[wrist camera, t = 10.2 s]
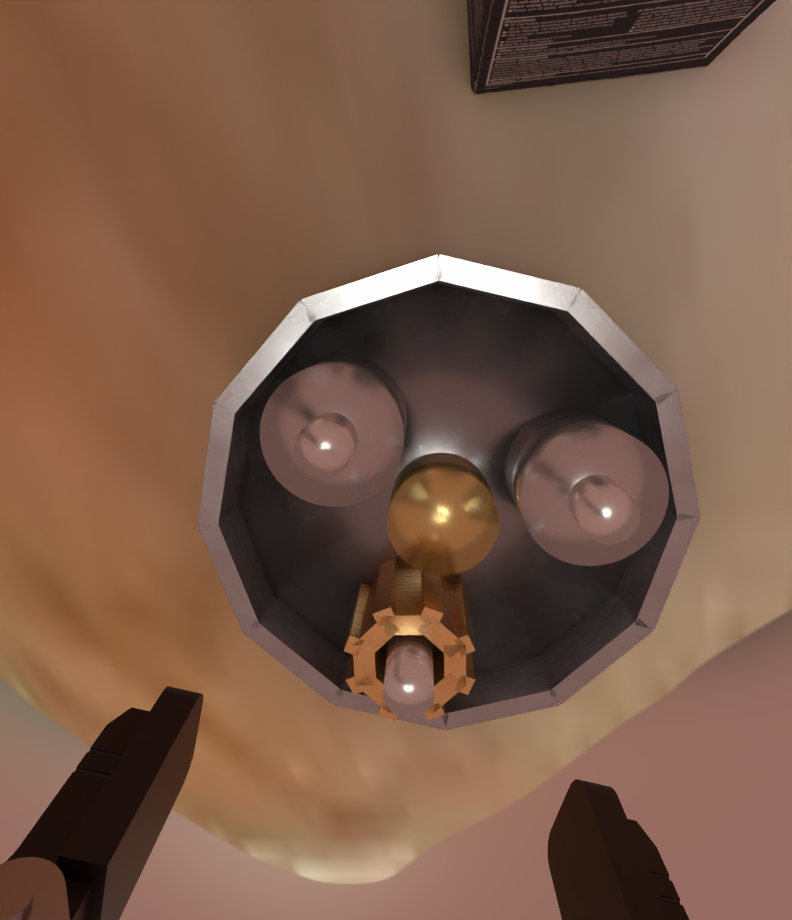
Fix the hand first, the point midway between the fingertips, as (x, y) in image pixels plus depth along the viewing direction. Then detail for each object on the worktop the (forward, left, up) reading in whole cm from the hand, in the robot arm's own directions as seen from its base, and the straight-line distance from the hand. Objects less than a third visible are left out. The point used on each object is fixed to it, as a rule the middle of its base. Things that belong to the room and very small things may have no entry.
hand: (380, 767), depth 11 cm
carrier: (+1, +1, -19) cm, 19 cm away
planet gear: (+5, -4, -17) cm, 19 cm away
